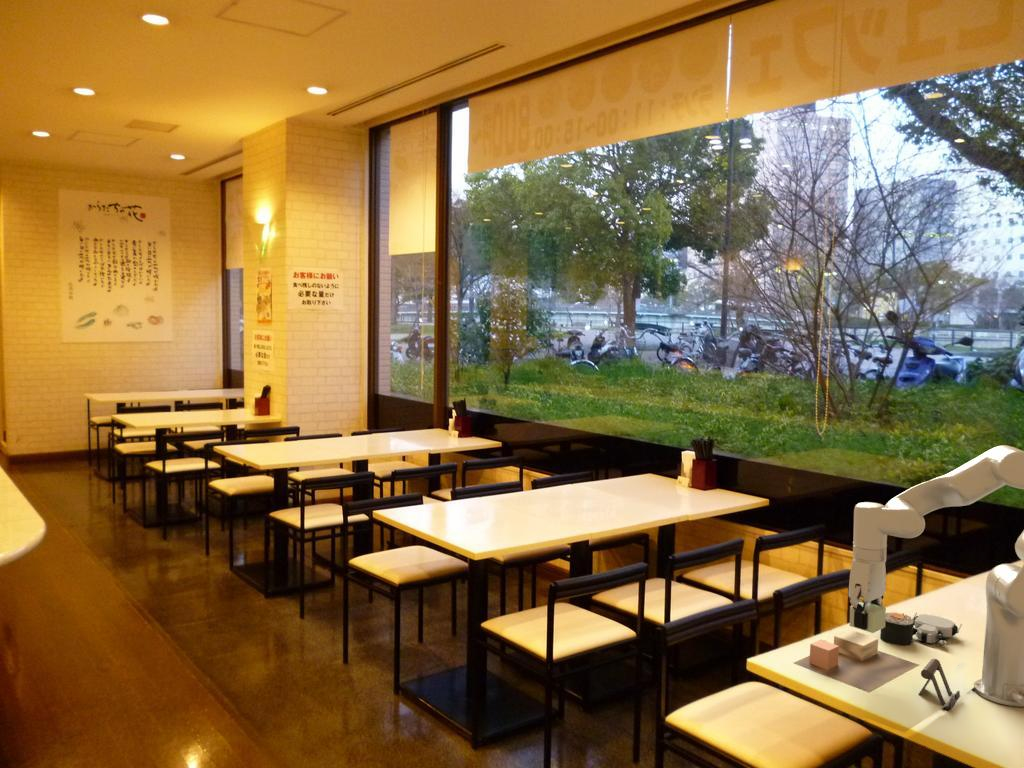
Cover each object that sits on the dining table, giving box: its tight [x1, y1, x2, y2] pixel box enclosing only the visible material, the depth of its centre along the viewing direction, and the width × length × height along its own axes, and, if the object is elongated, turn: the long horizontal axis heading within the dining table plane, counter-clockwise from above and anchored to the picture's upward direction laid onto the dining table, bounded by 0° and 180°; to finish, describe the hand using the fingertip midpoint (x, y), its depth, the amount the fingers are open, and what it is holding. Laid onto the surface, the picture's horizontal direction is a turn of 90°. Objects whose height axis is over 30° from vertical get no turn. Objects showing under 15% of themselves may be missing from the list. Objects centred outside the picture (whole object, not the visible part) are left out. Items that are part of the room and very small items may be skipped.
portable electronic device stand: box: [918, 658, 961, 712], centre depth 190 cm, size 9×8×8 cm
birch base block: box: [833, 628, 879, 661], centre depth 214 cm, size 8×8×4 cm
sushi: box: [879, 611, 914, 647], centre depth 223 cm, size 8×8×8 cm
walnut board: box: [793, 650, 920, 693], centre depth 207 cm, size 20×26×1 cm
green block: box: [849, 602, 887, 634], centre depth 199 cm, size 6×6×5 cm
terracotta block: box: [809, 639, 839, 670], centre depth 206 cm, size 5×5×5 cm
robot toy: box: [912, 612, 963, 646], centre depth 228 cm, size 12×4×15 cm
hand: (867, 624), depth 200 cm, fingers closed on green block, 6 cm apart
